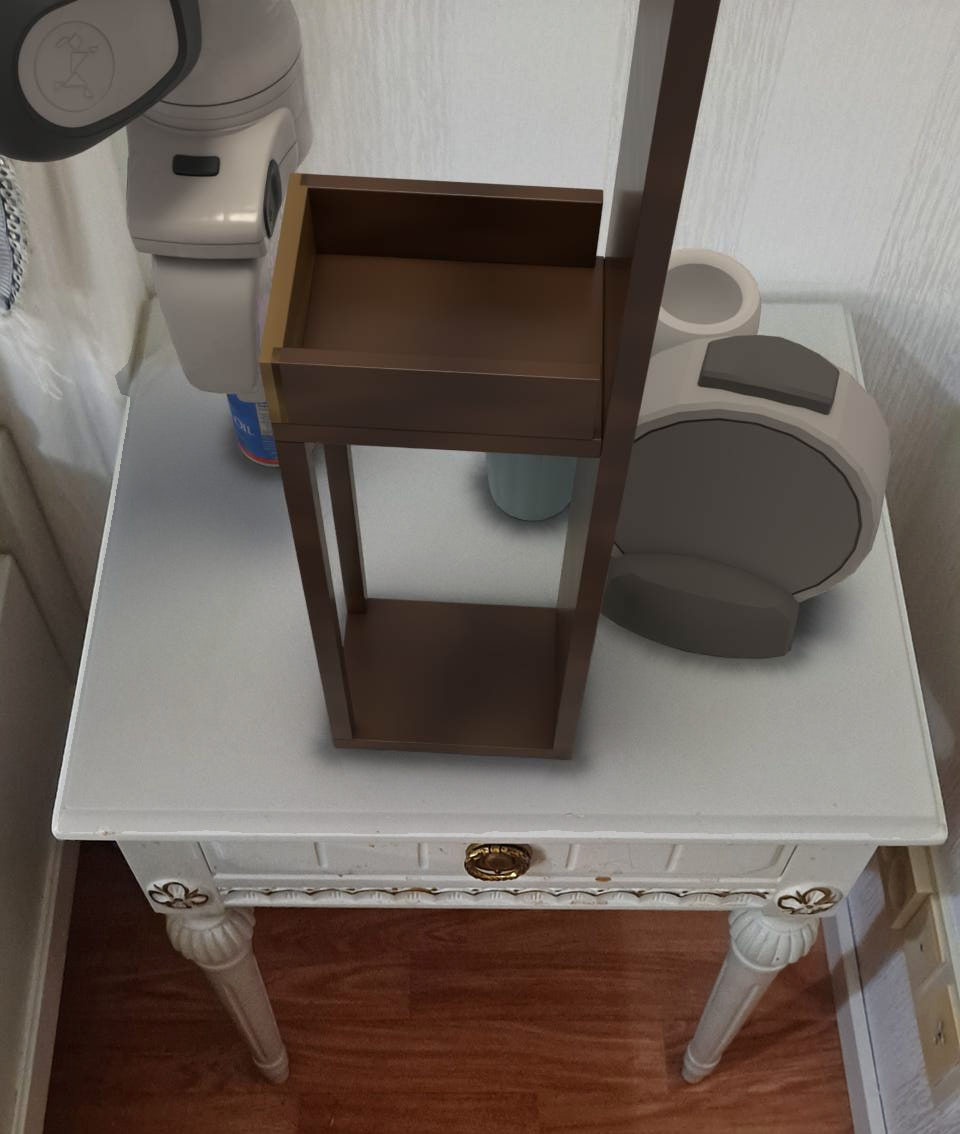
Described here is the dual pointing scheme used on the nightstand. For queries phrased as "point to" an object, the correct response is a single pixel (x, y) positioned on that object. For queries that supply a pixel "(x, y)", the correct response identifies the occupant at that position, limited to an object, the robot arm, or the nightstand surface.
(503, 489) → the cup
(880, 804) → the nightstand surface
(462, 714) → the rack
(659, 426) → the alarm clock
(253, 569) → the nightstand surface
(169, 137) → the robot arm
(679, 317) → the mug
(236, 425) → the pill bottle
